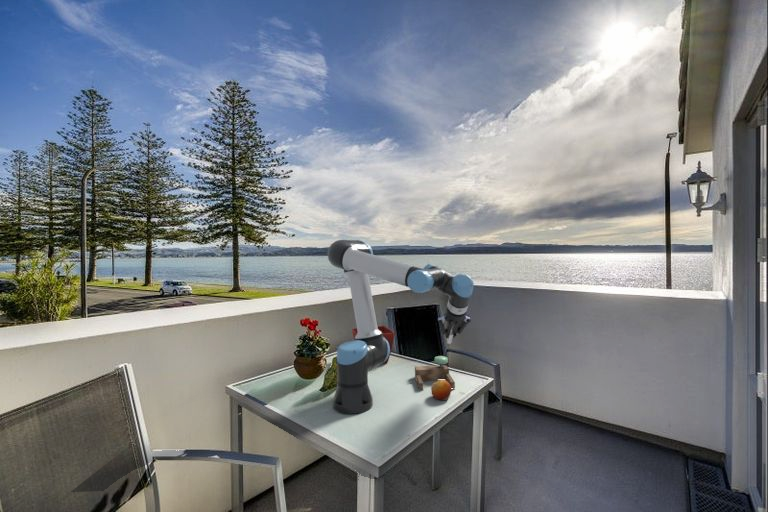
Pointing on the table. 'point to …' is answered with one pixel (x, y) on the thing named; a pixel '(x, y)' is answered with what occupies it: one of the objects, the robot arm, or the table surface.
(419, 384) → the brown wooden u shape
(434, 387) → the fruit
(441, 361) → the button
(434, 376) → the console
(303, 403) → the table surface
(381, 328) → the plant pot
